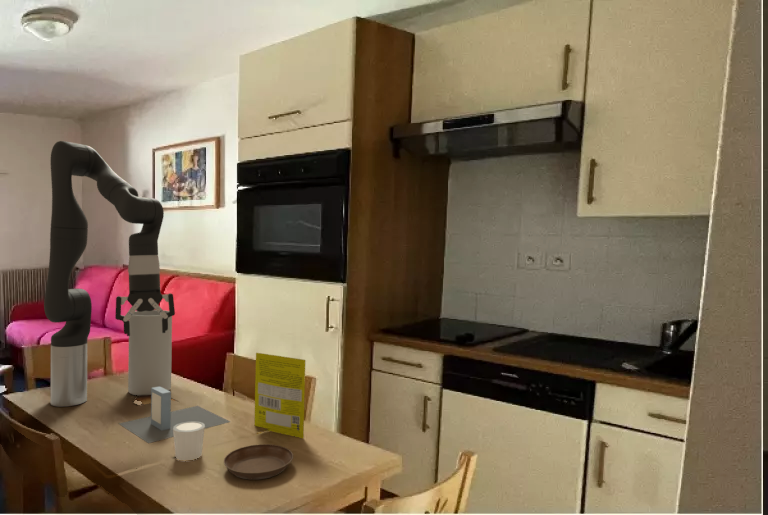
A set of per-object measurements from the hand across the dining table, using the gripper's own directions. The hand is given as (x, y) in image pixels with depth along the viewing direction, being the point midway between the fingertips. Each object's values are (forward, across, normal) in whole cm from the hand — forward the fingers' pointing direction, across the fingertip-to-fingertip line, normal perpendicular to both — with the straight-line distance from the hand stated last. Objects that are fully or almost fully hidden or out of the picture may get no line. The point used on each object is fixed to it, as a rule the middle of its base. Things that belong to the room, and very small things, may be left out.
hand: (146, 334), depth 141 cm
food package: (+26, -30, +18) cm, 44 cm away
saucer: (+28, -21, +37) cm, 50 cm away
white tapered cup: (+26, -7, +25) cm, 37 cm away
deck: (+24, -3, +4) cm, 24 cm away
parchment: (+24, -3, -16) cm, 28 cm away
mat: (+24, -6, +3) cm, 25 cm away
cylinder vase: (+22, -1, -32) cm, 39 cm away
